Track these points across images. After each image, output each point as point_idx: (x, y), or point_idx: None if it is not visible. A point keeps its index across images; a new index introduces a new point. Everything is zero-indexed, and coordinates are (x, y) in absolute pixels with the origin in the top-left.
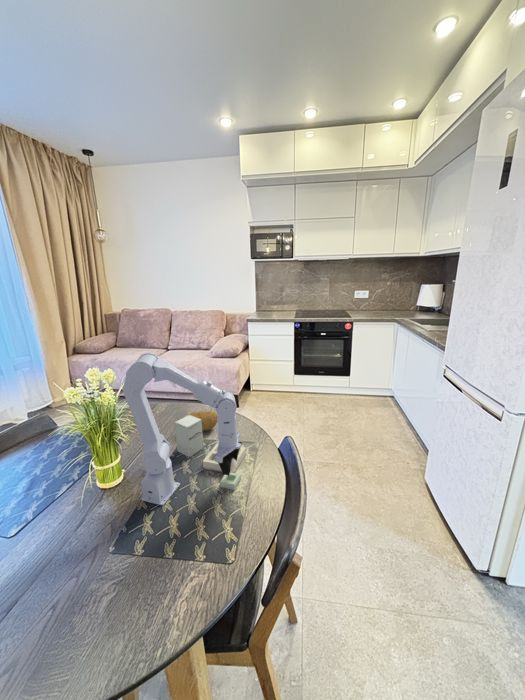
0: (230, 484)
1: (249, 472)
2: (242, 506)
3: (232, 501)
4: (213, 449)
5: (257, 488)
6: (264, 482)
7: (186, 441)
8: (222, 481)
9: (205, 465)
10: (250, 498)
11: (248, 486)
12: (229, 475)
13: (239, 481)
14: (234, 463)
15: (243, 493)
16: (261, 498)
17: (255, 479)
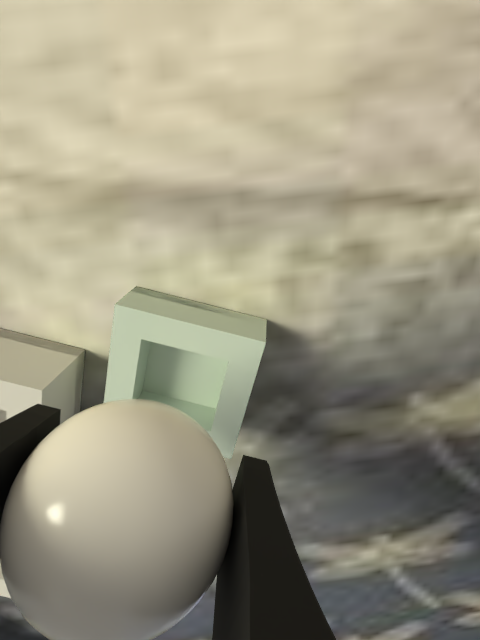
0: (255, 375)
1: (29, 217)
2: (470, 233)
3: (397, 323)
4: None
5: (242, 105)
6: (145, 26)
7: None
8: (228, 443)
9: None
10: (378, 167)
11: (218, 206)
12: (136, 395)
13: (167, 296)
14: (140, 493)
15: (309, 243)
16: (390, 39)
17: (114, 143)
